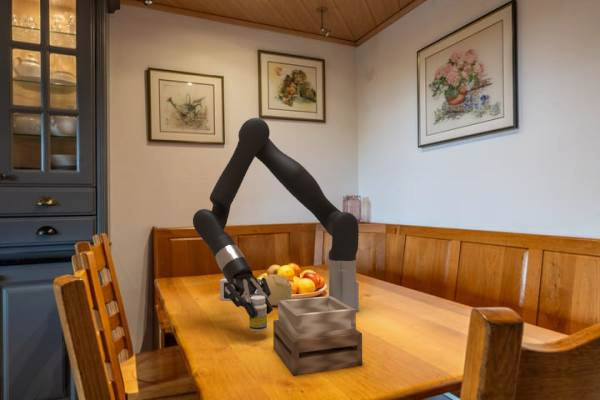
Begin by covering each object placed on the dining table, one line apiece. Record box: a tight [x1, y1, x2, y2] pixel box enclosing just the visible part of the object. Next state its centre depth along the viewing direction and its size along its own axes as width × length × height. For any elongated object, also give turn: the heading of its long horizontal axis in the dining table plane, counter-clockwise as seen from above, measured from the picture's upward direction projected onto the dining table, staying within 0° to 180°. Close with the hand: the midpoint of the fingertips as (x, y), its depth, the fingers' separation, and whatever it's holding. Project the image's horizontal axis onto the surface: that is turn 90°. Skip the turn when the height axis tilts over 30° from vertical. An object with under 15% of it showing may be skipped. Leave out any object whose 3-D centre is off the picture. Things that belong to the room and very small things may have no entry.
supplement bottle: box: [248, 295, 268, 332], centre depth 103 cm, size 5×5×8 cm
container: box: [219, 277, 238, 302], centre depth 147 cm, size 8×8×13 cm
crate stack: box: [272, 295, 363, 377], centre depth 90 cm, size 16×16×12 cm
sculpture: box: [259, 273, 293, 307], centre depth 138 cm, size 12×12×11 cm
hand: (262, 314), depth 101 cm, fingers closed on supplement bottle, 4 cm apart
